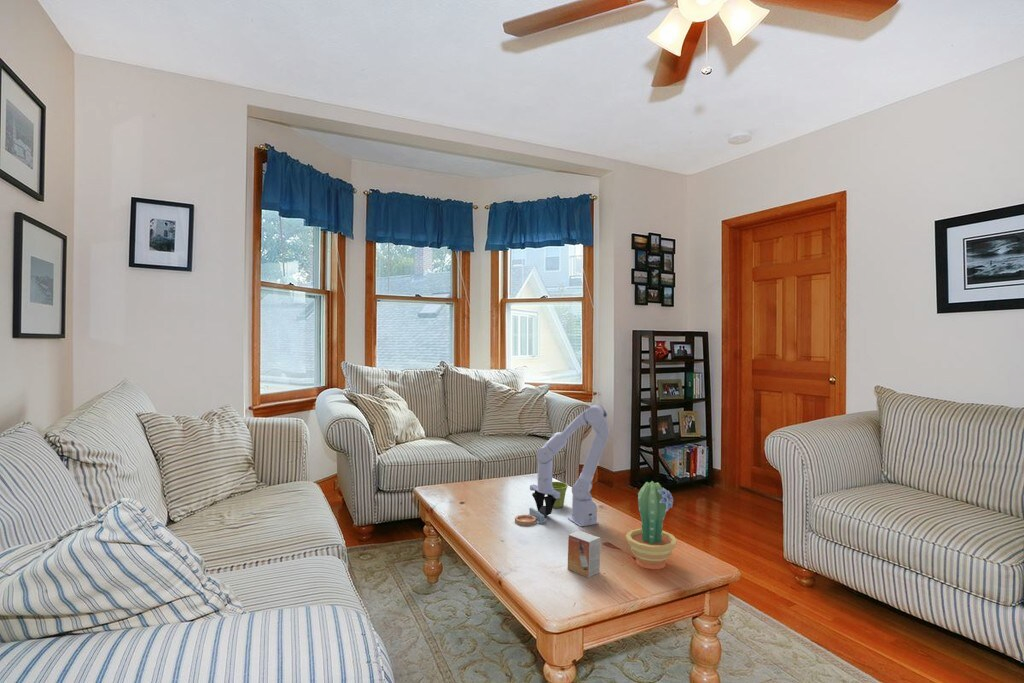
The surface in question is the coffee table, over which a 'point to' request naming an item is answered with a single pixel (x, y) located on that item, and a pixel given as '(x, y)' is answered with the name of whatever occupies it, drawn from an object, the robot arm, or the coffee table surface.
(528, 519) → the bowl
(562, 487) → the plant pot
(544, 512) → the ball
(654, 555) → the potted cactus
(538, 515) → the blue slab with nubs
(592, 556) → the small box
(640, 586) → the coffee table surface
